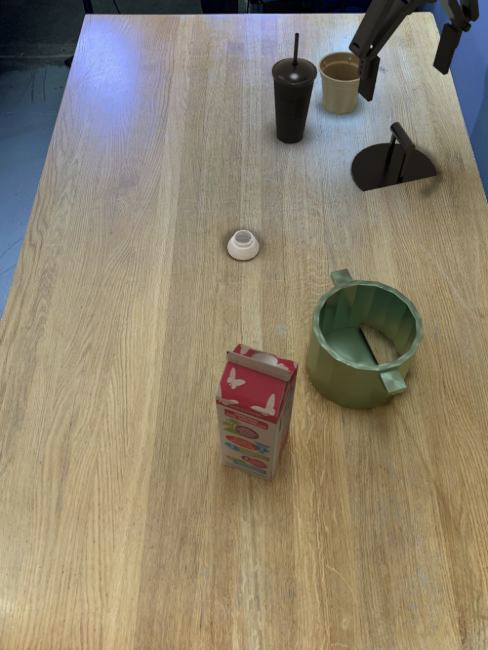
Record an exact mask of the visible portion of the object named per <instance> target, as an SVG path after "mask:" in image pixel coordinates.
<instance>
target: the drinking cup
mask: <svg viewBox="0 0 488 650" xmlns="http://www.w3.org/2000/svg"><path fill="white" fill-rule="evenodd" d="M299 41H300V32H295V33H294V43H293V56H292V57H286V58H283V59H280V60H278V61H277V62H275V63H274V64H273V65H272V67H271V77H272V79H273V95H274V97H273V98H274V114H275V116H274V117H275V131H276V139H277V140H278V141H279V142H281V143H283V144H286V145H293V144H297V143H299V142H301V141H302V140H303V138H304V133H305V128H306V124H307V118H308V114H309V108H310V104H311V98H312V94H313V91H314V90H313V89H314V85H315V80H316V79H317V76H318V69H317V68H318V67H317V66H316V65H315V64H314V63H313V62H312V61H310V60H308V59H305V58H301V57H299V43H300V42H299Z"/></svg>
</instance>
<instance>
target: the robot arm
mask: <svg viewBox="0 0 488 650" xmlns="http://www.w3.org/2000/svg"><path fill="white" fill-rule="evenodd" d="M406 1H407V2H408V3H405V2H404V1H403V0H371V2H370V4H369V6H368V8H367V10H366V11H365V13H364V15H363V18H362V20H361V21H360V23H359V25H358V27H357V29H356V31H355V32H354V35H353V37H352V38H351V40H350V43H349V45H348V50H349V52H352V53H353V54H354V55H356V56H357V57H358V58H359V59H360V60H359V66H358V76H360V80H359V86H358V93H359V95H360V96H361V97H362V98H363V99H364V100H365V101H367V103H369V102H372V101H374V94H375V89H376V85H377V79H378V74H379V68H380V64H381V59H382V58H381V57H380V56H379V53H380V52H381V51H382V49H383V48H385V45H386V44H387V43H388V41H389V40H390V39H391V37H392V36H393V34H394V33H395V32H396V31H397V29H398V28H399V27H400V25H401V24H402V23H403V22H404V20H405V19H406V17H408V16H411V15H412V14H413V13H414V12H415V10H416V9H418V8H421V7H423V6H425V5H427V4H433V3H437V2H438V1H439V2H440V4H441V7H442V8H443V10H444V12H445V14H446V16H447V18H448V20H449V22H450V23H449V22H446V23H444V24H443V26H442V29H441V33H440V37H439V40H438V44H437V48H436V52H435V55H434V58H433V62H432V67H433V68H434V69H436V70H437V71H438V72H439V73H440V74H442V75H443V76H445V75H448V74H449V71H450V68H451V64H452V61H453V59H454V54H455V51H456V49H457V48H459V45H460V40H461V38H462V35H463V32H464V33H468V32H470V30H471V28H472V23H470V22H473V23H475V22H477V21H478V19H479V18H480V6H479V0H459V1H458V0H406Z"/></svg>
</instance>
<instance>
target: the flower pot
mask: <svg viewBox="0 0 488 650" xmlns="http://www.w3.org/2000/svg"><path fill="white" fill-rule="evenodd" d="M359 60H360V59H359V58H358V57H357V56H356V55H354V54H353V53H352V52H351V51H346V50H345V51H343V50H341V51H333V52H330V53H327V54H325V55H324V56H322V57H321V58H320V59H319V61H318V63H317V68H318V69H317V70H318V72H319V76H320V78H321V96H322V97H321V98H322V99H321V101H322V102H321V103H322V107H323V108H324V109H325V110H326V111H327V112H328V113H331V114H335V115H345V114H349V113H351V112H352V111H353V110H354V109H355V108H356V104H357V100H358V97H359V95H360V94H359V93H358V86H359V80H360V76H358V66H359Z"/></svg>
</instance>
